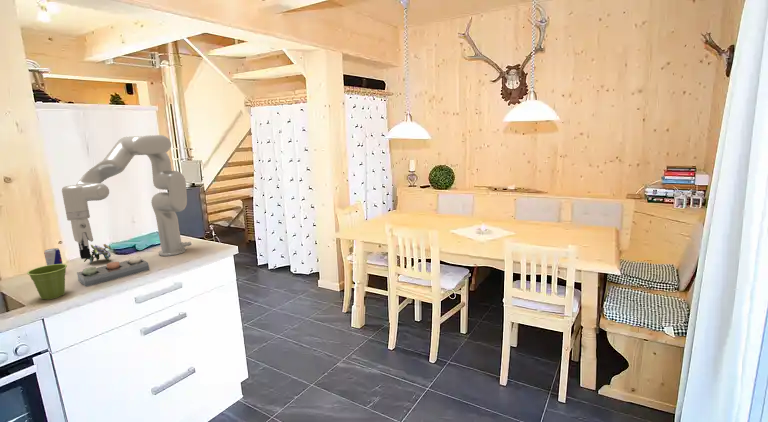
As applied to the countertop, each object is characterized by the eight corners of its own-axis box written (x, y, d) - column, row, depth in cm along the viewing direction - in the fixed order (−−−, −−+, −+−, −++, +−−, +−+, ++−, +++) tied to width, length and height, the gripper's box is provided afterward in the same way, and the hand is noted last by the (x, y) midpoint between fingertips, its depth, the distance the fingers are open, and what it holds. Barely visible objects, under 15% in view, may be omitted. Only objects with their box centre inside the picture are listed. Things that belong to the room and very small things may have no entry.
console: (140, 264, 188) (139, 257, 187) (149, 270, 180) (148, 262, 179) (78, 280, 170) (76, 272, 170) (85, 286, 163) (83, 278, 162)
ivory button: (139, 260, 184) (138, 255, 183) (142, 261, 181) (141, 257, 180) (127, 262, 181) (127, 258, 180) (131, 264, 177) (130, 260, 177)
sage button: (95, 270, 172) (94, 266, 171) (98, 272, 168) (97, 268, 168) (82, 273, 168) (81, 269, 168) (85, 276, 165) (84, 271, 165)
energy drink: (67, 273, 180) (62, 248, 177) (54, 278, 175) (48, 252, 173) (59, 272, 182) (54, 247, 179) (46, 277, 177) (40, 251, 174)
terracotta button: (118, 265, 178) (117, 260, 177) (121, 267, 175) (120, 262, 174) (106, 268, 174) (105, 263, 174) (109, 270, 171) (108, 265, 171)
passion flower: (110, 271, 197) (116, 254, 192) (83, 274, 189) (89, 256, 184) (104, 255, 203) (110, 238, 198) (78, 257, 194) (83, 239, 189)
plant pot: (40, 305, 146) (34, 276, 144) (28, 299, 152) (22, 271, 150) (78, 293, 156) (72, 266, 154) (65, 288, 162) (59, 262, 160)
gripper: (93, 215, 161) (101, 258, 164) (84, 212, 171) (92, 252, 174) (71, 218, 155) (79, 263, 159) (62, 214, 165) (70, 257, 169)
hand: (85, 257), depth 166 cm, fingers closed
